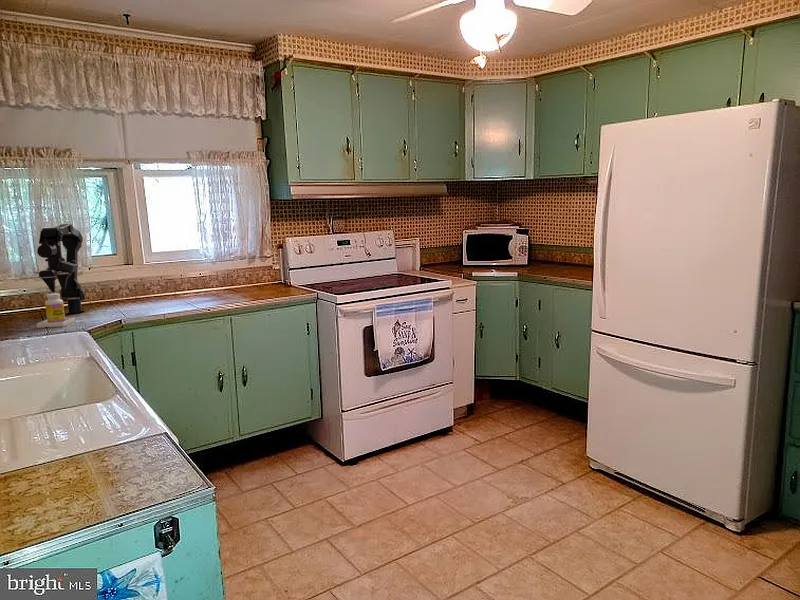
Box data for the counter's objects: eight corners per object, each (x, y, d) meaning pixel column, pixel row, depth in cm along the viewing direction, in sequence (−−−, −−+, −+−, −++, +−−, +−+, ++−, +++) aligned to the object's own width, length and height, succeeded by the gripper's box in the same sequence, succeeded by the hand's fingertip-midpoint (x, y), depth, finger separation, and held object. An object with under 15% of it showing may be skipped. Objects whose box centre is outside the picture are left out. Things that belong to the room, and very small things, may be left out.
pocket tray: (51, 322, 251) (50, 318, 250) (76, 321, 252) (76, 317, 251) (37, 328, 239) (36, 323, 239) (63, 326, 240) (63, 322, 240)
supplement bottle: (53, 325, 241) (49, 295, 239) (44, 324, 244) (40, 294, 242) (69, 322, 246) (65, 293, 244) (60, 321, 250) (56, 292, 248)
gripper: (63, 257, 245) (67, 293, 247) (82, 253, 263) (86, 287, 266) (35, 258, 244) (40, 294, 246) (57, 254, 262) (61, 288, 265)
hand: (58, 291), depth 256 cm, fingers open, 9 cm apart
